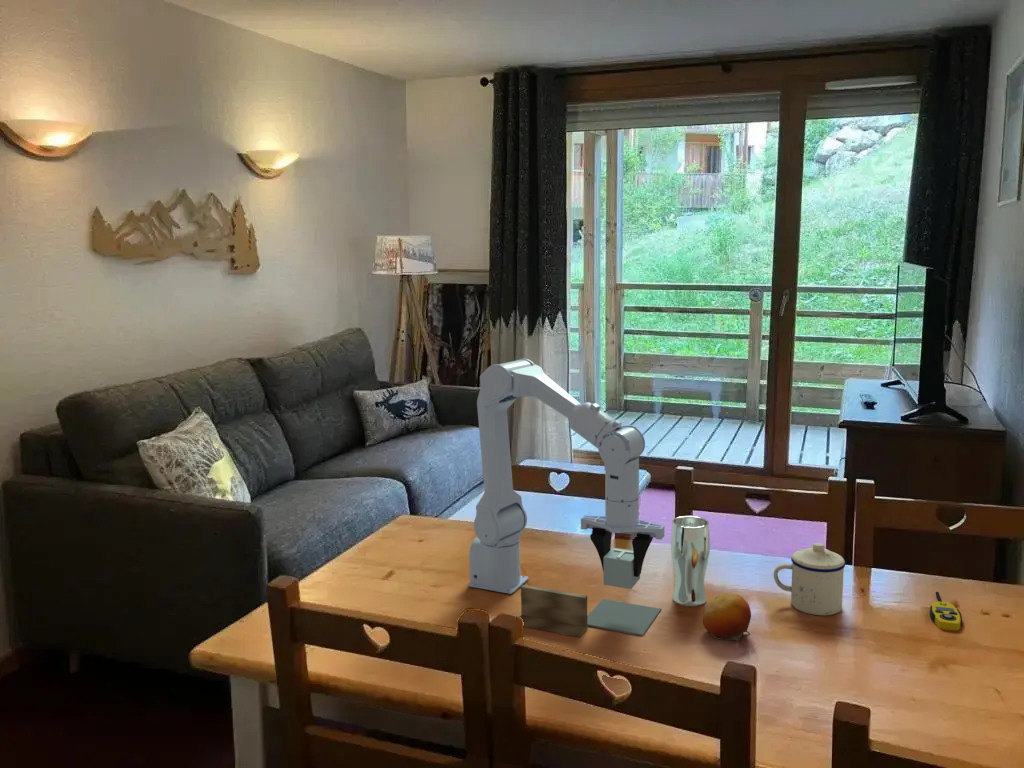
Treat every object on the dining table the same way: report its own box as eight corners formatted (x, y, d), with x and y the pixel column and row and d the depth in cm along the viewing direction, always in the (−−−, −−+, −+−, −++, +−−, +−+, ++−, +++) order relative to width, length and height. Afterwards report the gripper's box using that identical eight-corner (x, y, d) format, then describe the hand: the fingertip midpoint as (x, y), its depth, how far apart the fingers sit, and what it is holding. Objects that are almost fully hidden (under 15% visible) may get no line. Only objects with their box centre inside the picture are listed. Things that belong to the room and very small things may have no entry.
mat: (581, 624, 149) (581, 623, 149) (602, 600, 159) (602, 598, 159) (642, 636, 144) (642, 634, 144) (661, 610, 154) (661, 608, 154)
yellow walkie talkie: (934, 619, 145) (922, 584, 159) (933, 630, 145) (922, 594, 159) (966, 623, 143) (951, 588, 157) (965, 634, 144) (951, 597, 158)
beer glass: (709, 608, 154) (710, 528, 152) (669, 606, 156) (670, 527, 153) (708, 593, 161) (709, 516, 158) (670, 590, 162) (671, 514, 160)
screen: (515, 624, 150) (514, 592, 148) (523, 616, 153) (523, 584, 152) (580, 637, 144) (579, 603, 143) (587, 628, 147) (587, 595, 146)
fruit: (754, 643, 138) (729, 597, 139) (712, 657, 142) (689, 612, 143) (768, 623, 145) (744, 580, 146) (728, 637, 149) (705, 595, 150)
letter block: (603, 584, 149) (603, 556, 148) (612, 574, 154) (612, 546, 153) (631, 589, 147) (631, 560, 146) (639, 578, 151) (640, 550, 151)
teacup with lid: (842, 598, 157) (845, 537, 155) (844, 619, 149) (847, 555, 147) (773, 591, 161) (775, 531, 159) (771, 611, 153) (774, 549, 151)
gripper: (574, 499, 147) (574, 574, 150) (656, 509, 141) (655, 587, 143) (588, 488, 154) (589, 560, 156) (668, 497, 147) (667, 572, 150)
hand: (621, 572), depth 150 cm, fingers closed on letter block, 5 cm apart
